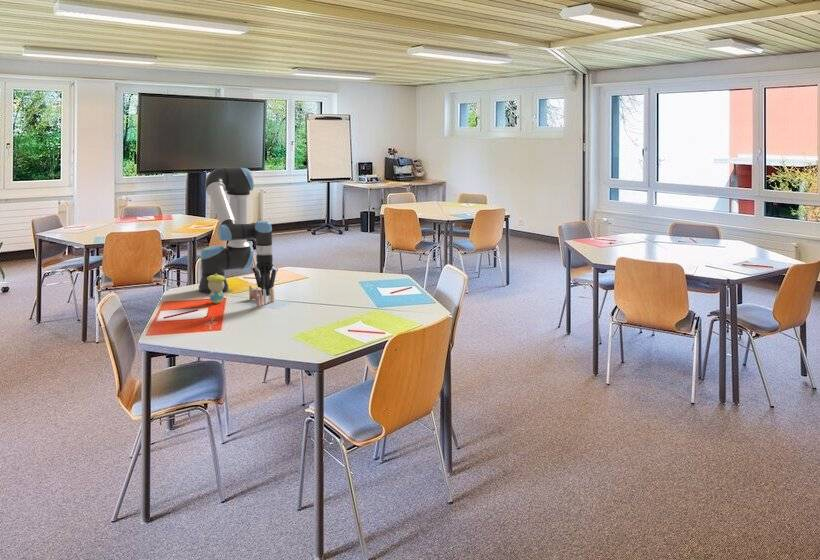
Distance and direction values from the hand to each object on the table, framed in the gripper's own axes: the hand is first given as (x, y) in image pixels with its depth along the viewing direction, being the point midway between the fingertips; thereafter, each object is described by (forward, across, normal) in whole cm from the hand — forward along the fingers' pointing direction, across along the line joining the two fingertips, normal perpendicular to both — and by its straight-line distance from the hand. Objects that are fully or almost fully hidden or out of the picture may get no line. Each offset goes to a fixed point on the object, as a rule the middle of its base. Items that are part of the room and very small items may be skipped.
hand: (266, 302), depth 321 cm
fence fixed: (+2, -8, +9) cm, 12 cm away
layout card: (+2, -2, +5) cm, 6 cm away
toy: (+2, -26, -3) cm, 26 cm away
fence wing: (+2, -2, +2) cm, 4 cm away
